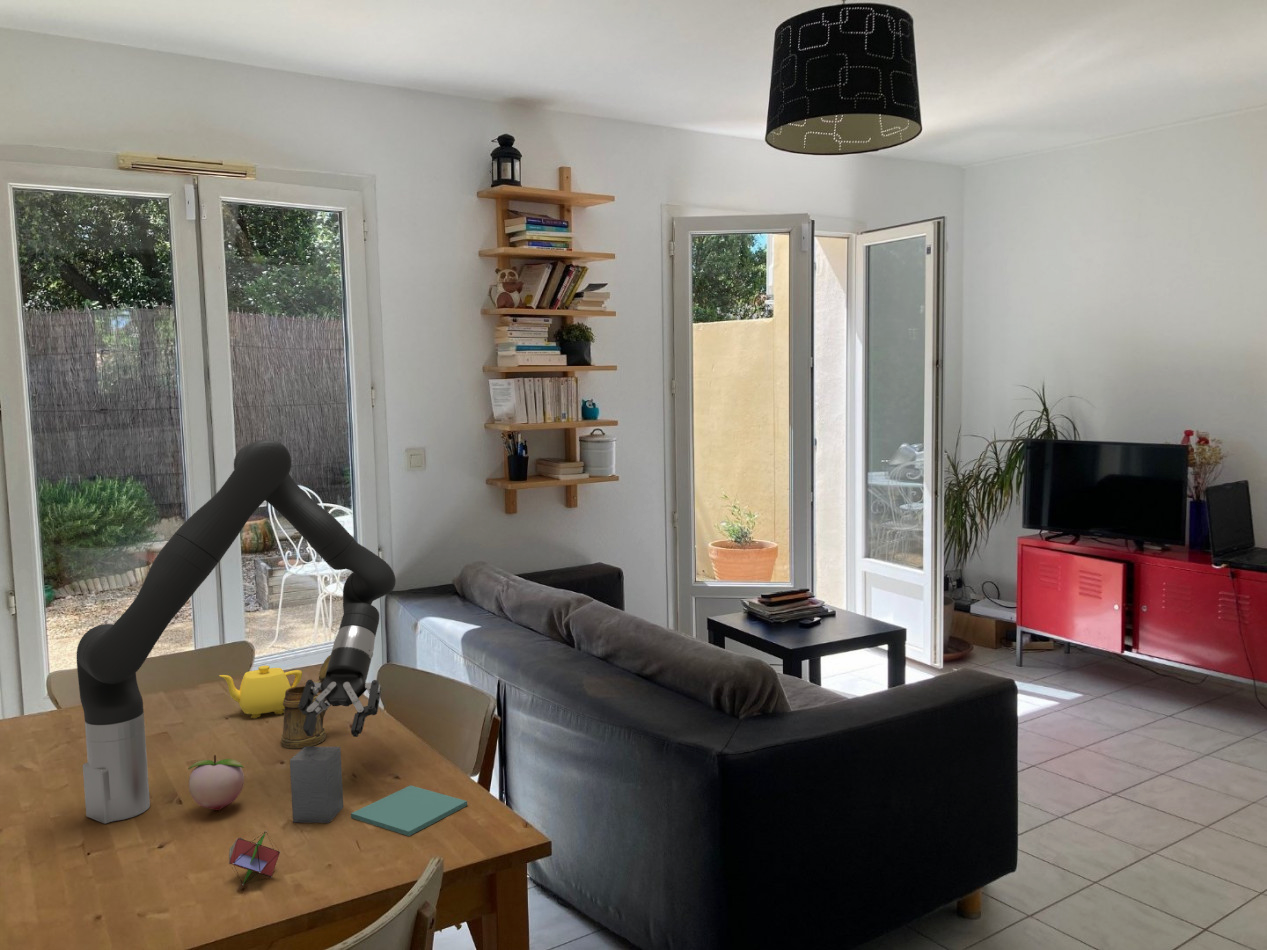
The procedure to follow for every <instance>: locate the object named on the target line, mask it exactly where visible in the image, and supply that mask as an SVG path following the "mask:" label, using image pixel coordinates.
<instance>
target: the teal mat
mask: <svg viewBox="0 0 1267 950" xmlns="http://www.w3.org/2000/svg"><path fill="white" fill-rule="evenodd" d="M467 806H468V801H467V800H465V799H462V798H457V797H454V796H450V795H447V794H443V793H439V792H436V791H433V790H429V789H424V788H422V787H418V786H415V785H408V786H406V787H403V788H402V789H399V790H398V791H395V792H393V793H392V794H389V795H387V796H385V797H383V798H381V799H379V800H376V801H374V802H372V803H370V804H368V805H365V806H363V807H361V808H359V809H357V810H355V811H352V812H351V813H350V817H351V818H350V819H354V820H357V821H361V822H363V823H366V824H369V825H372V826H376V827H379V828H382V829H385V830H388V831H391V832H395V833H398V834H401V835H404V836H407V837H411V836H413V835H414V834H416V833H418V832H420V831H422V830H424V829H425V828H428V827H429V826H431V825H433V824H435V823H437V822H438V821H440V820H442V819H444V818H446V817H448V816H450V815H452V814H454V813H456V812H459V810H462V809H464V808H465V807H467Z"/></svg>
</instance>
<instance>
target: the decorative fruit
mask: <svg viewBox="0 0 1267 950" xmlns="http://www.w3.org/2000/svg"><path fill="white" fill-rule="evenodd" d="M192 768H194V769H193V770H192V772H191V773H190V775H189V778H188V779H189V780H188V790H189V794H190V796H191V798H192V800H193V801H194V802H195V803H196V804H197V805H199V806H200V807H202V808H206V809H211V810H216V811H219V810H222V809H223V808H225V807H227V806H228V805H230V804H232V803H233V802H234V801H235V800H236V799H237V798H238V797H239V795H240V794H241V792H242V790H243V788H244V785H245V775H244V771H243V768H245V767H244V766H243V764H242V763H240V762H239V761H238V760H235V759H232V758H224V759H219V760H217V755H216V754H214V755H213V760H210V759H203V760H199V761H196V762H195V763H193V764H191V765H189V767H188V769H187V770H190V769H192Z"/></svg>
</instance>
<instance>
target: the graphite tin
mask: <svg viewBox="0 0 1267 950" xmlns="http://www.w3.org/2000/svg"><path fill="white" fill-rule="evenodd" d="M341 752H342V751H341V746H311V747H307V746H305V747H304V748H301V749H300V751H298V752H297V753H296V754H295V755H293V757H291V758H290V759H289V771H290V773H289V774H290V775H289V776H290V789H291V791H290V793H291V794H290V795H291V806H292V808H291V810H292V823H303V824H304V823H305V824H307V823H309V824H311V823H314V824H316V823H317V824H318V823H319V824H330V823H331V821H333V820H334V819H335V817H336V816H337V815H338V814H339V813H340V812H341V811H342V810H343V808H344V792H343V774H342V773H343V772H342V770H343V769H342V757H341V756H342V755H341V754H342V753H341Z"/></svg>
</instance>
